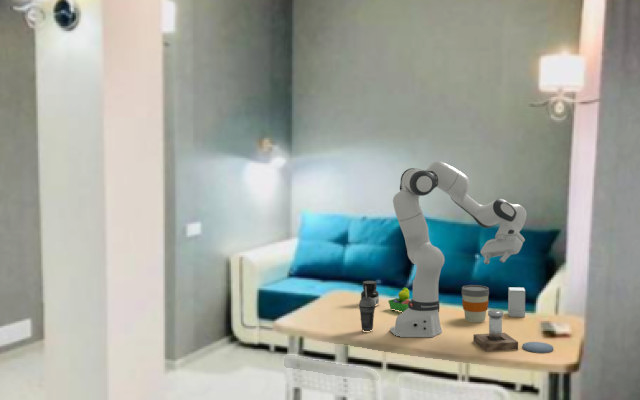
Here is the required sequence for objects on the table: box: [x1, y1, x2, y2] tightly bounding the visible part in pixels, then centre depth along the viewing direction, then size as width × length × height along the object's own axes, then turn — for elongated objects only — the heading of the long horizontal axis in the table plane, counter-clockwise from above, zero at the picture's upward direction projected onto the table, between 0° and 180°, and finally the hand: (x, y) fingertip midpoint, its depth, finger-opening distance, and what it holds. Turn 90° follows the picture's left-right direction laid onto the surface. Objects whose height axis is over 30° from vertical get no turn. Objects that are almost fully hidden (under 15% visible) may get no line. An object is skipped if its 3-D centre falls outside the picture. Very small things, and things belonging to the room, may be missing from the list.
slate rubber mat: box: [521, 341, 554, 354], centre depth 285 cm, size 12×12×1 cm
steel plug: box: [487, 309, 504, 341], centre depth 289 cm, size 6×6×14 cm
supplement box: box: [507, 286, 526, 318], centre depth 335 cm, size 7×7×13 cm
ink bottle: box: [360, 280, 380, 305], centre depth 357 cm, size 10×9×12 cm
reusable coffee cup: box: [461, 284, 490, 323], centre depth 328 cm, size 13×12×15 cm
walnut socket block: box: [472, 332, 519, 352], centre depth 289 cm, size 14×14×3 cm
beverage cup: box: [358, 286, 376, 331], centre depth 311 cm, size 7×7×20 cm
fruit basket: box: [387, 287, 410, 312], centre depth 346 cm, size 11×9×11 cm
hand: (493, 262), depth 302 cm, fingers open, 8 cm apart
